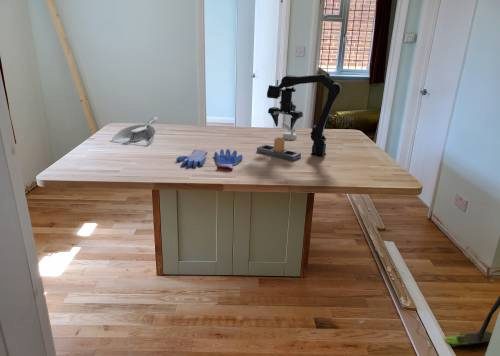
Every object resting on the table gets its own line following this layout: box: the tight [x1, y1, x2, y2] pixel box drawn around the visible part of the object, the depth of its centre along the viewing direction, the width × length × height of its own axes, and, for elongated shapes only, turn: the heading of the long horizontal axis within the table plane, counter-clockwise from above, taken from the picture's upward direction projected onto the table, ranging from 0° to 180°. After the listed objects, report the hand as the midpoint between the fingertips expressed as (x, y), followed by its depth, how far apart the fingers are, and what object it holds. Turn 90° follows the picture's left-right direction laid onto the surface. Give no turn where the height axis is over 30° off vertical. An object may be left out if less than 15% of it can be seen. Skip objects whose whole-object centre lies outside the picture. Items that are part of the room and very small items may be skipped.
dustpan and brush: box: [112, 116, 159, 147], centre depth 230 cm, size 23×33×10 cm
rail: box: [256, 144, 302, 162], centre depth 210 cm, size 23×8×2 cm, turn 54°
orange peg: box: [273, 136, 286, 153], centre depth 209 cm, size 4×4×9 cm
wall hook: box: [281, 121, 298, 141], centre depth 242 cm, size 9×10×10 cm
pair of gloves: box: [176, 148, 243, 172], centre depth 196 cm, size 32×26×4 cm
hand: (284, 127), depth 215 cm, fingers open, 9 cm apart
